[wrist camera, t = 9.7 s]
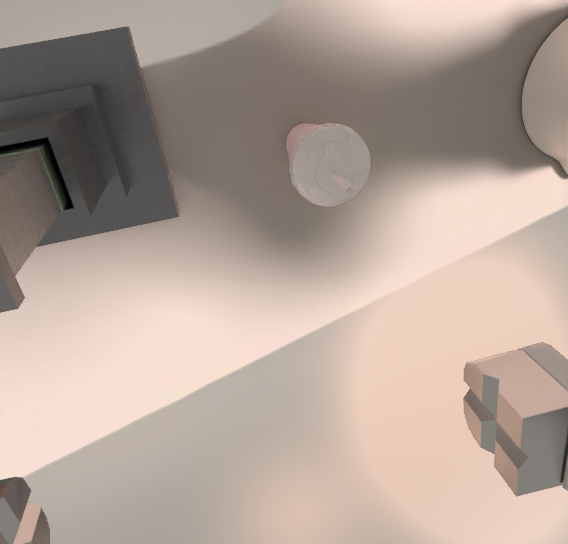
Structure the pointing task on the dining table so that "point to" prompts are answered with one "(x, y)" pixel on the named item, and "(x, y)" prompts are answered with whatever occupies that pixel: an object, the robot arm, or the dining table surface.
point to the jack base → (89, 129)
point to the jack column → (26, 208)
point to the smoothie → (327, 162)
